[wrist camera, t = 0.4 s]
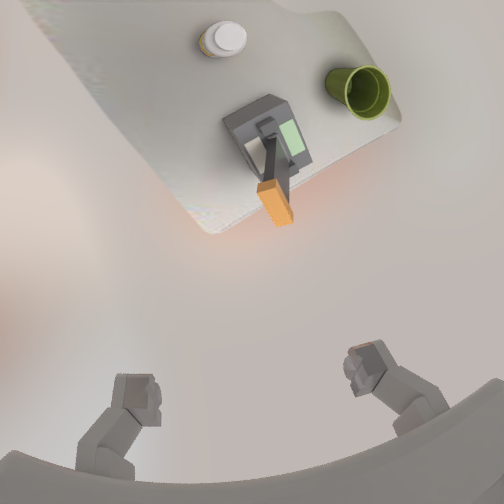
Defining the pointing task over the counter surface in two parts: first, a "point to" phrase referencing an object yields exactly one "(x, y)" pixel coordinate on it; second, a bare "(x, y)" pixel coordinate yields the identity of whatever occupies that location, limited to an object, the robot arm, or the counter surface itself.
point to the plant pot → (360, 90)
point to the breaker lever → (276, 182)
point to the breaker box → (267, 133)
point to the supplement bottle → (223, 39)
